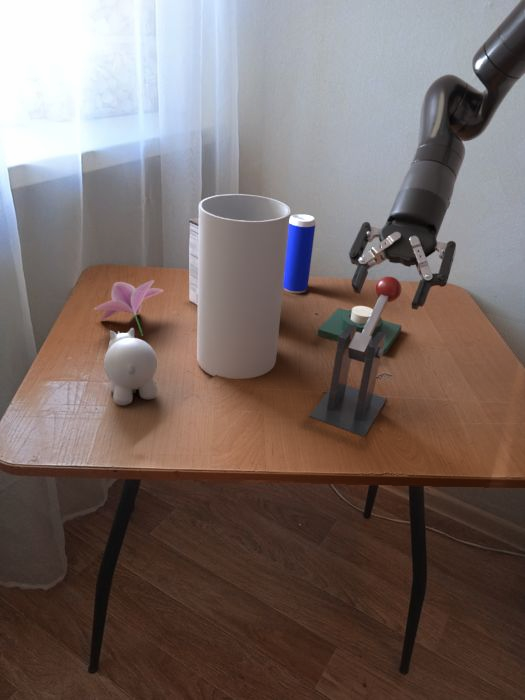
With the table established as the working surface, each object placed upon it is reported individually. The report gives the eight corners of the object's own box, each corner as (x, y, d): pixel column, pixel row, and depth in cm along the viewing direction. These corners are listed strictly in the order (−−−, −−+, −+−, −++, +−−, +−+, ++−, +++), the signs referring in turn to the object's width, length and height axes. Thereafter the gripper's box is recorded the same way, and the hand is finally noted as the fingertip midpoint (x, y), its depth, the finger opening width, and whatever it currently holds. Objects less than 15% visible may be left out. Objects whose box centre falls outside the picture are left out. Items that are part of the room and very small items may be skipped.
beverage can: (311, 288, 116) (320, 217, 108) (300, 296, 112) (308, 223, 104) (289, 281, 118) (296, 211, 110) (277, 289, 114) (284, 217, 106)
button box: (399, 336, 101) (403, 316, 99) (382, 360, 93) (387, 339, 91) (337, 318, 105) (340, 298, 103) (316, 340, 97) (319, 319, 95)
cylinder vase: (254, 393, 82) (267, 228, 69) (181, 369, 86) (181, 209, 74) (287, 355, 92) (303, 204, 79) (220, 335, 96) (225, 189, 83)
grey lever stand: (334, 387, 85) (346, 312, 78) (385, 405, 82) (402, 328, 76) (308, 422, 77) (319, 342, 71) (363, 442, 74) (380, 361, 68)
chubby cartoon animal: (145, 359, 88) (143, 311, 84) (163, 403, 79) (162, 351, 74) (98, 366, 85) (93, 316, 81) (110, 411, 76) (106, 358, 72)
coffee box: (225, 289, 112) (228, 210, 104) (246, 300, 108) (251, 220, 100) (187, 300, 107) (188, 218, 99) (208, 313, 103) (210, 228, 95)
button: (376, 318, 98) (378, 309, 97) (369, 327, 95) (371, 318, 94) (354, 312, 99) (356, 303, 98) (347, 321, 96) (348, 312, 95)
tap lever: (380, 286, 82) (381, 268, 79) (404, 292, 81) (405, 274, 78) (343, 358, 75) (343, 342, 73) (369, 367, 74) (369, 350, 71)
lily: (175, 321, 102) (157, 270, 100) (173, 327, 90) (152, 270, 88) (112, 342, 101) (93, 291, 99) (101, 351, 89) (79, 294, 88)
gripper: (373, 177, 81) (333, 275, 78) (473, 196, 76) (435, 302, 73) (378, 205, 88) (341, 296, 85) (470, 224, 83) (434, 322, 80)
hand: (384, 299), depth 79 cm, fingers open, 8 cm apart
